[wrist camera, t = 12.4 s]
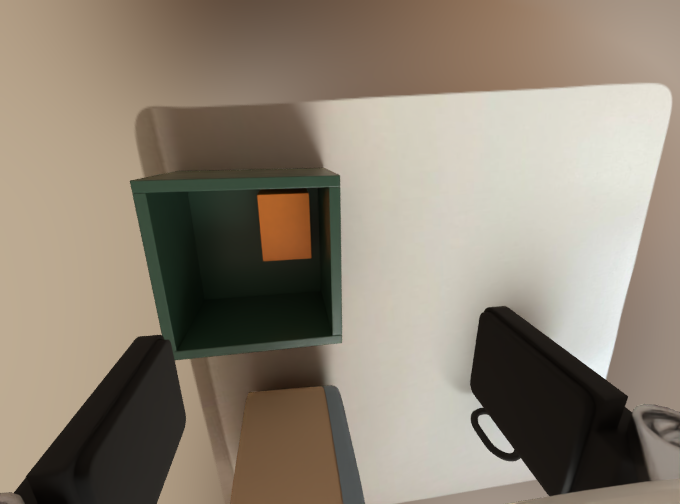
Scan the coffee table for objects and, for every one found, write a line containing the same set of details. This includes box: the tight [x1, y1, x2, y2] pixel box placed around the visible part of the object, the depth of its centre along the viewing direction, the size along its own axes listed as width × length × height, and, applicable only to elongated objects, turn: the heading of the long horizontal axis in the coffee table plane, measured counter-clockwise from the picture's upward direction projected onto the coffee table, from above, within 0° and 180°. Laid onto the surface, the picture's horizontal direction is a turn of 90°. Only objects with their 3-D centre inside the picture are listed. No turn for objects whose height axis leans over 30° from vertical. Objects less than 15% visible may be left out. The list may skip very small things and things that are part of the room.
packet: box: [257, 188, 312, 261], centre depth 30 cm, size 4×6×4 cm
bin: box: [130, 168, 342, 360], centre depth 28 cm, size 14×14×10 cm
